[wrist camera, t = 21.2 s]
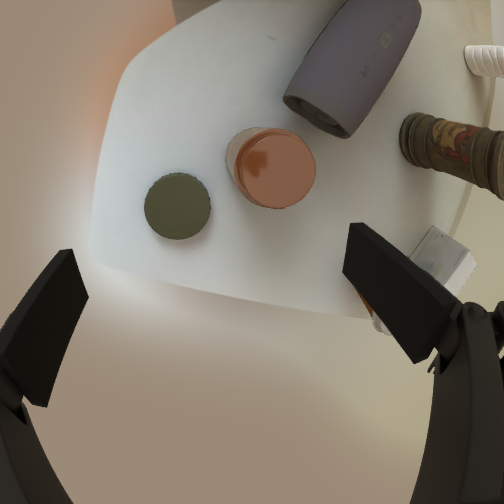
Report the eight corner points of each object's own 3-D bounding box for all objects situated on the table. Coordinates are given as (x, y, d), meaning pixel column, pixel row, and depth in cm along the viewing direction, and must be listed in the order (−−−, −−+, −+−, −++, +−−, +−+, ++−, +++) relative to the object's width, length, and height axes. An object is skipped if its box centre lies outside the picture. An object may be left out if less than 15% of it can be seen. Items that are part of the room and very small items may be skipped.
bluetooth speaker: (327, 138, 32) (371, 147, 23) (267, 98, 28) (295, 88, 20) (394, 30, 25) (440, 19, 16) (347, -10, 21) (386, -34, 13)
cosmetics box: (431, 224, 41) (471, 249, 32) (442, 241, 44) (478, 266, 35) (399, 268, 44) (434, 300, 35) (412, 281, 47) (444, 312, 38)
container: (442, 140, 34) (527, 167, 19) (417, 177, 37) (505, 218, 21) (416, 100, 31) (513, 113, 15) (389, 138, 33) (490, 166, 17)
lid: (212, 231, 35) (212, 236, 33) (151, 237, 33) (149, 243, 32) (208, 169, 31) (208, 172, 29) (142, 176, 30) (139, 179, 28)
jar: (224, 128, 29) (234, 129, 20) (286, 127, 30) (321, 130, 21) (226, 189, 33) (238, 216, 24) (286, 186, 34) (318, 210, 25)
